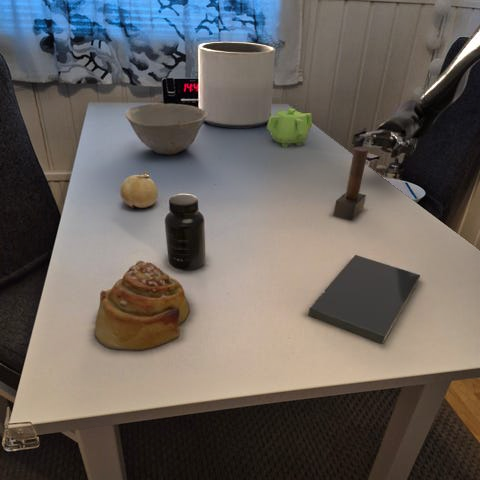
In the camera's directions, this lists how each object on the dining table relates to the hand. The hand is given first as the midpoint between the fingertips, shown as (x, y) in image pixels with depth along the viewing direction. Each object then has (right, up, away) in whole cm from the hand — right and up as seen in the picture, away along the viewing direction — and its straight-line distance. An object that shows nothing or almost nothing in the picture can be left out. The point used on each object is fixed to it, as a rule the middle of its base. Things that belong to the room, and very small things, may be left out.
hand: (374, 149), depth 100 cm
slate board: (-9, -35, -26) cm, 44 cm away
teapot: (-15, +17, +39) cm, 45 cm away
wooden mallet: (-6, -14, 0) cm, 15 cm away
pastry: (-45, -38, -32) cm, 67 cm away
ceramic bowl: (-51, +11, +29) cm, 60 cm away
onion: (-53, -13, -1) cm, 54 cm away
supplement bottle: (-40, -28, -19) cm, 52 cm away
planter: (-32, +32, +57) cm, 73 cm away
